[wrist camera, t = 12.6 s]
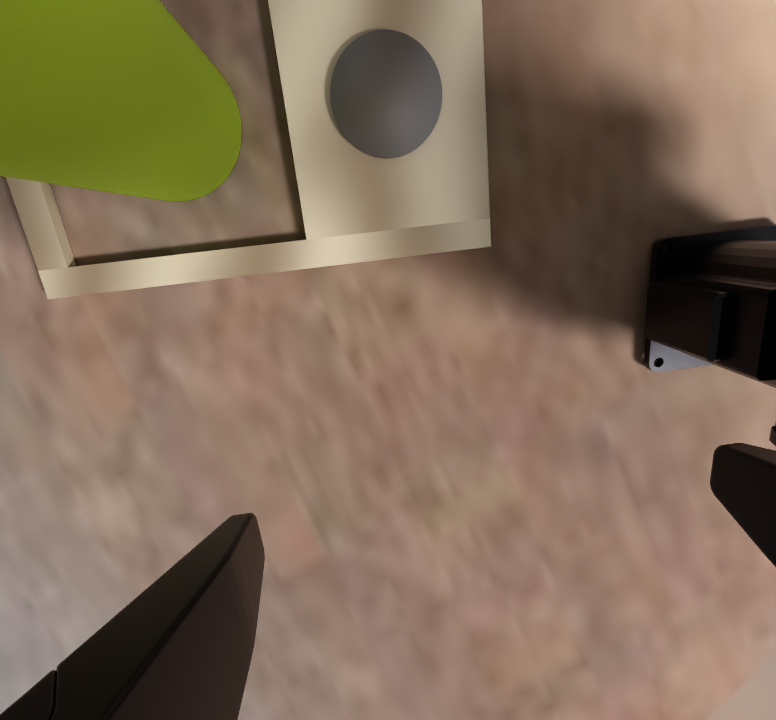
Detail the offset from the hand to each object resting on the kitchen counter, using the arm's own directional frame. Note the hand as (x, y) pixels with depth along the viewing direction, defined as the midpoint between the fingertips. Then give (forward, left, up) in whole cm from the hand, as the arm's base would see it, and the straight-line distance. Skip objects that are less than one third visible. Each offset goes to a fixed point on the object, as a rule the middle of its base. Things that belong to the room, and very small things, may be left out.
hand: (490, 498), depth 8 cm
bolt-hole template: (+6, -10, -13) cm, 17 cm away
